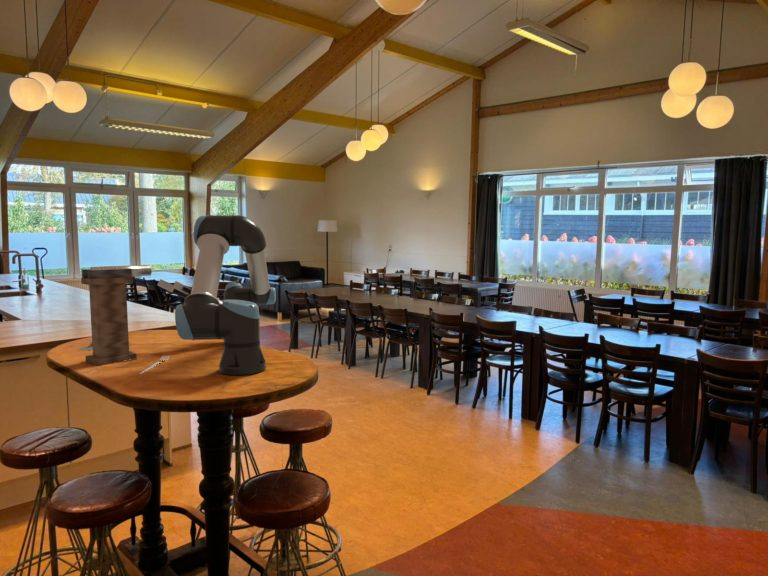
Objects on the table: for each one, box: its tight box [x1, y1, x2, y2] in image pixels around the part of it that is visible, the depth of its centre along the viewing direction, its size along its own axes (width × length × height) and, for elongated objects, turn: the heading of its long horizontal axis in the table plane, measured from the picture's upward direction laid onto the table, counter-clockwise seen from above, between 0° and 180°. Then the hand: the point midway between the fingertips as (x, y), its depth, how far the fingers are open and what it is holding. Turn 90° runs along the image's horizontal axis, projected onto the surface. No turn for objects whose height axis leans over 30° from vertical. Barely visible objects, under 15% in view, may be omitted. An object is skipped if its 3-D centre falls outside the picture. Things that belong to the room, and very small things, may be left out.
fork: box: [139, 355, 170, 375], centre depth 182 cm, size 3×20×2 cm, turn 179°
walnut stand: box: [80, 268, 138, 367], centre depth 190 cm, size 14×10×33 cm
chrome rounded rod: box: [89, 264, 153, 277], centre depth 192 cm, size 20×4×4 cm, turn 136°
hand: (166, 283), depth 205 cm, fingers open, 13 cm apart
